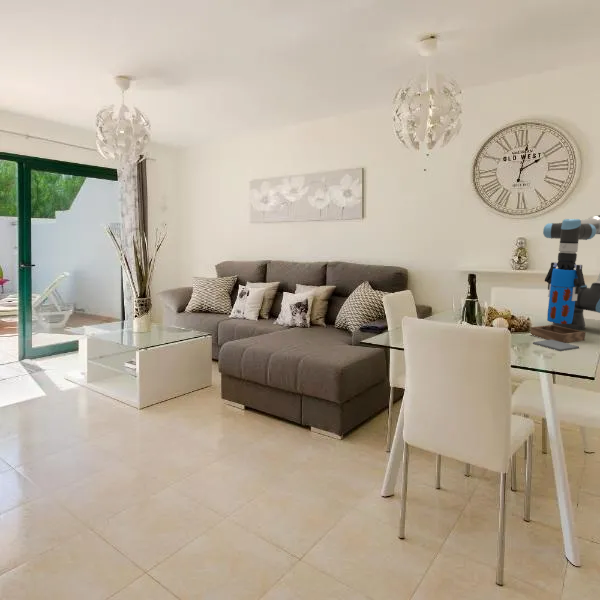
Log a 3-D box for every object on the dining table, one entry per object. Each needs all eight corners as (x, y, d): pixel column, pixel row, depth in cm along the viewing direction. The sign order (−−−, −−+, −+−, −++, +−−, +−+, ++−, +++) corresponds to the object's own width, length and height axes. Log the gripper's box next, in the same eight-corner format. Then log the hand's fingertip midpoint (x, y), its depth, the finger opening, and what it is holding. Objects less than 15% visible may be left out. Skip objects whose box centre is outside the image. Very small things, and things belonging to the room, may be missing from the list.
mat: (551, 341, 211) (551, 339, 211) (578, 348, 200) (579, 346, 200) (532, 343, 205) (533, 342, 205) (560, 351, 194) (560, 349, 194)
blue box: (576, 324, 211) (582, 271, 207) (551, 323, 213) (557, 270, 209) (567, 319, 221) (573, 268, 217) (543, 318, 224) (549, 268, 219)
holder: (551, 332, 229) (552, 324, 229) (584, 340, 215) (585, 331, 214) (530, 335, 222) (531, 327, 221) (562, 343, 207) (563, 334, 207)
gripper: (539, 250, 220) (534, 295, 224) (588, 254, 200) (581, 303, 203) (549, 250, 224) (544, 294, 227) (598, 254, 203) (591, 302, 207)
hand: (562, 298), depth 215 cm, fingers closed on blue box, 11 cm apart
